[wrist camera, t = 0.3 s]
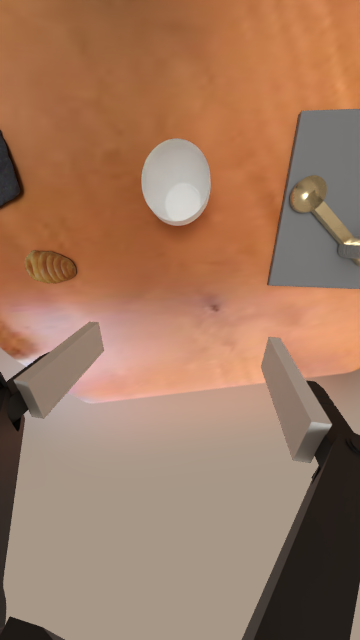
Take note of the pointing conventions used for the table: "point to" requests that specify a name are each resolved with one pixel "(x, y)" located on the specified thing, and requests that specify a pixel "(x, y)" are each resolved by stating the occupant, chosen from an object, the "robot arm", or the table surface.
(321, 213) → the tuning peg
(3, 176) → the dark grey crumpled cloth
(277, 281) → the dial board
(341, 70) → the table surface
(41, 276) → the pastry
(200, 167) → the cup
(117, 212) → the table surface
